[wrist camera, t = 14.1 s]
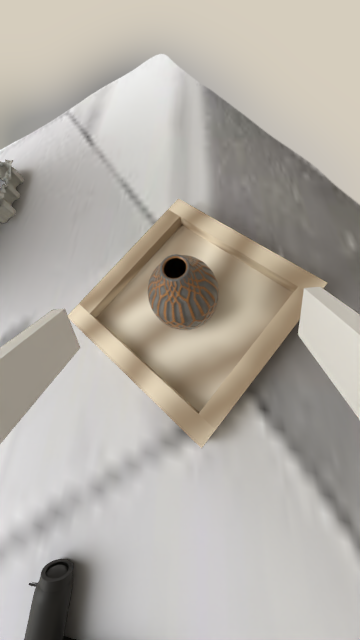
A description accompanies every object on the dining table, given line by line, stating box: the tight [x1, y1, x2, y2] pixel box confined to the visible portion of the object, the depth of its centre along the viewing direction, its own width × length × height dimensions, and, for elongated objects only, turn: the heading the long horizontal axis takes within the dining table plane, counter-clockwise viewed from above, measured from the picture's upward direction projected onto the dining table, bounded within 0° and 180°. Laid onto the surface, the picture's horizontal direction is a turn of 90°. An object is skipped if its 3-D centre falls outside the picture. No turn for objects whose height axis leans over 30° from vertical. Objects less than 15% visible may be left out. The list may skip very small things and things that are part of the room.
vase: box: [148, 254, 219, 330], centre depth 21 cm, size 7×7×9 cm
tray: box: [68, 199, 327, 448], centre depth 25 cm, size 20×20×2 cm
